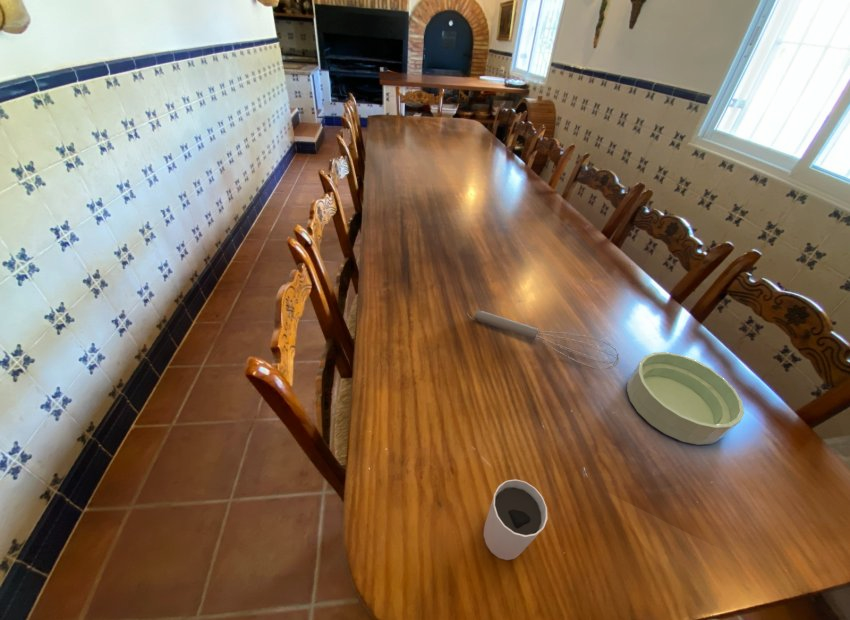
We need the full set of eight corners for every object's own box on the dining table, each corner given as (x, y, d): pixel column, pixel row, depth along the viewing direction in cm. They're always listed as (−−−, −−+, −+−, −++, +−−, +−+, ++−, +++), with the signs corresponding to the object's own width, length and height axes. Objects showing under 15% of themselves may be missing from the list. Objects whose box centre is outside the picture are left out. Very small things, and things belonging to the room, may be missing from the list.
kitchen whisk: (471, 309, 89) (475, 288, 85) (613, 363, 78) (625, 342, 74) (461, 323, 85) (465, 302, 81) (610, 382, 74) (623, 361, 70)
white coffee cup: (537, 552, 49) (559, 524, 43) (495, 572, 47) (511, 546, 40) (511, 504, 54) (527, 472, 47) (472, 520, 52) (483, 489, 45)
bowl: (719, 394, 73) (737, 375, 69) (727, 463, 61) (750, 445, 57) (629, 360, 79) (642, 340, 75) (621, 417, 67) (635, 398, 63)
